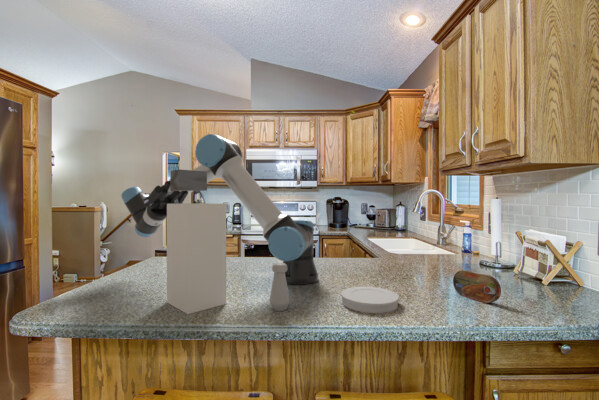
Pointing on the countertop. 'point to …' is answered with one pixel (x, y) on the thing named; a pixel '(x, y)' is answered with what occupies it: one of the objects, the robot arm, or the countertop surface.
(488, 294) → the tin
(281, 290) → the salt shaker
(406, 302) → the countertop surface
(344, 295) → the lid
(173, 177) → the panel with wooden post
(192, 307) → the pedestal
